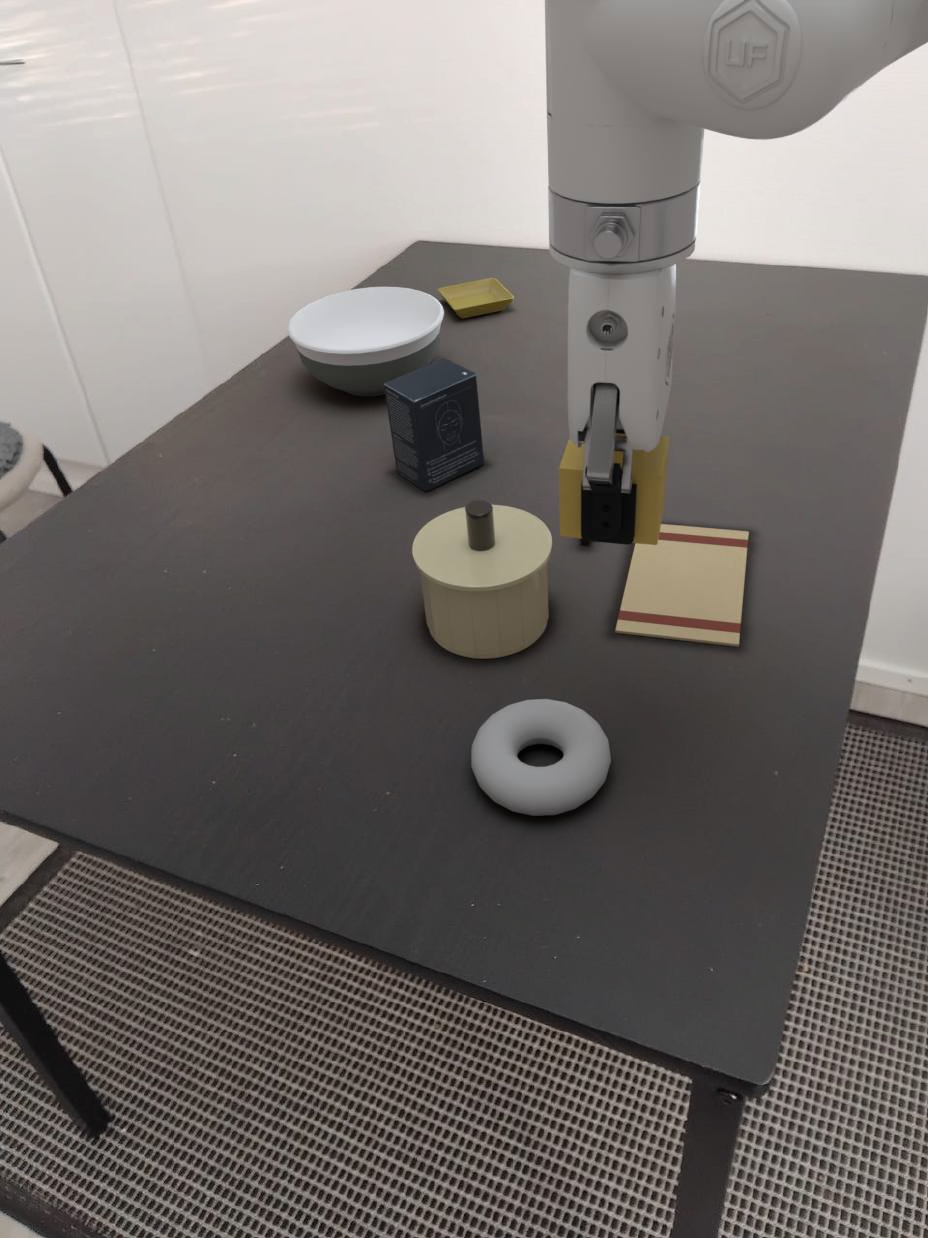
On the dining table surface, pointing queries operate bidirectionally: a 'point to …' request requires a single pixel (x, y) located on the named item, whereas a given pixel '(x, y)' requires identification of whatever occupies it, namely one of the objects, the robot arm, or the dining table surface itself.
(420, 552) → the pot lid
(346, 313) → the bowl
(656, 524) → the cheese
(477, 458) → the box
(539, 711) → the donut
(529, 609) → the pot
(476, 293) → the yellow tray
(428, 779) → the dining table surface
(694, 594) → the cloth
